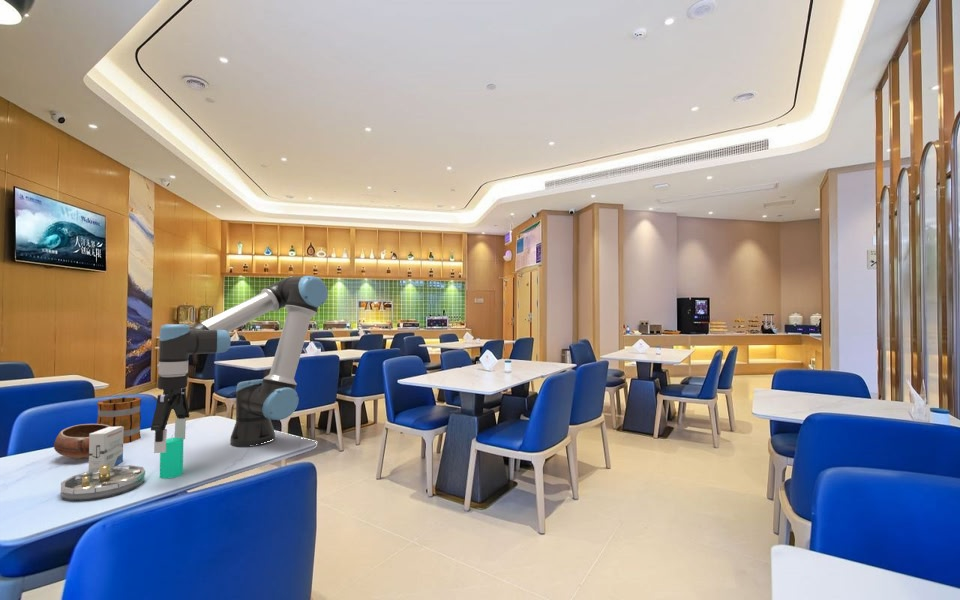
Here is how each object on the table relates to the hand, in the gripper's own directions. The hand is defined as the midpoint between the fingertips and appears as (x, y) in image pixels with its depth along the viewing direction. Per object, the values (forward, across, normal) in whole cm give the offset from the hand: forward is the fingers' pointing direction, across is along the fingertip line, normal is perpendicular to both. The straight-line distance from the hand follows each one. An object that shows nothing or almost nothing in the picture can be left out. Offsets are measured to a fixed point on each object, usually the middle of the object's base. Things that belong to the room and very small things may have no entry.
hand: (170, 445), depth 137 cm
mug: (+9, -46, -35) cm, 59 cm away
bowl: (+9, -24, -35) cm, 43 cm away
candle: (+9, 0, 0) cm, 9 cm away
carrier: (+9, +7, -14) cm, 18 cm away
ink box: (+9, -12, -23) cm, 27 cm away
